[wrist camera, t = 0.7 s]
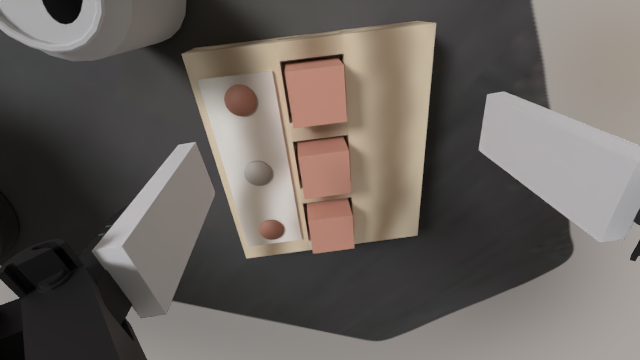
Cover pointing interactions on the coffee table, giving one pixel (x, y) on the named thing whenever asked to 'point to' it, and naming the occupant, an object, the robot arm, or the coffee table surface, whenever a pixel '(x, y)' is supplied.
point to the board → (318, 130)
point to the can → (90, 25)
